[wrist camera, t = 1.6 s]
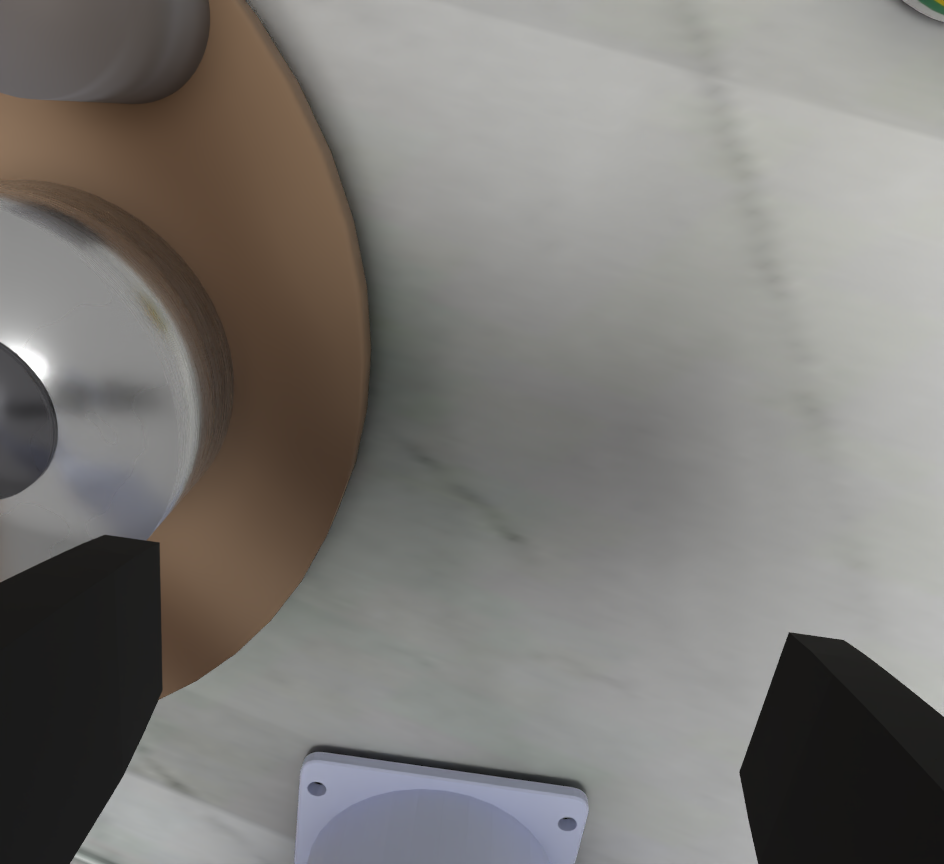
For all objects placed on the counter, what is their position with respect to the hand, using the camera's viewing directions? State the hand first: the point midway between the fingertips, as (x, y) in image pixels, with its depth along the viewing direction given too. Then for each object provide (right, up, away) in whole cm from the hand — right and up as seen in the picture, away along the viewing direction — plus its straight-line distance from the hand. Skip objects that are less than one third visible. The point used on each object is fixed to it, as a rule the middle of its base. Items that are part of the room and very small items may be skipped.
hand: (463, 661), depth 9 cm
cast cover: (-8, +4, +7) cm, 11 cm away
